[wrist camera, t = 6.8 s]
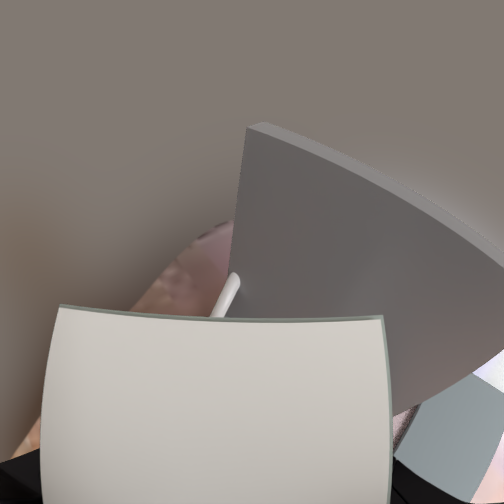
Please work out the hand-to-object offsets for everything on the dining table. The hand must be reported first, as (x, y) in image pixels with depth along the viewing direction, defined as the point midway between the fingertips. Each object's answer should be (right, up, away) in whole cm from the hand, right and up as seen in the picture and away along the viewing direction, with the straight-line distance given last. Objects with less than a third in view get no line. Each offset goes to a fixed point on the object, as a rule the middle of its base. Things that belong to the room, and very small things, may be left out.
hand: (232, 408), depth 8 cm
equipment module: (0, -5, +5) cm, 7 cm away
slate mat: (+18, -11, +7) cm, 22 cm away
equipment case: (+1, -7, +10) cm, 12 cm away
